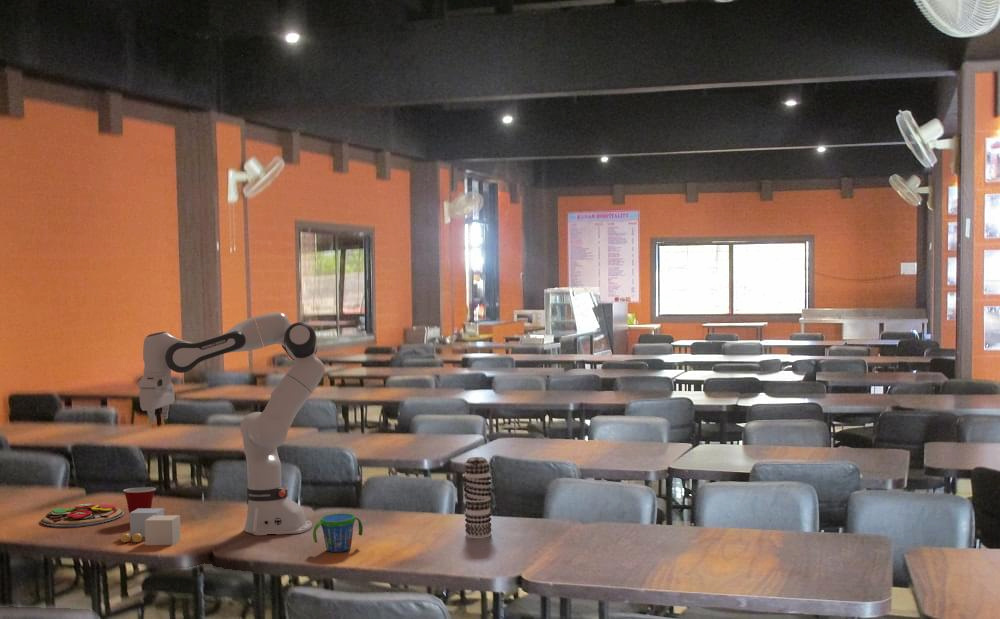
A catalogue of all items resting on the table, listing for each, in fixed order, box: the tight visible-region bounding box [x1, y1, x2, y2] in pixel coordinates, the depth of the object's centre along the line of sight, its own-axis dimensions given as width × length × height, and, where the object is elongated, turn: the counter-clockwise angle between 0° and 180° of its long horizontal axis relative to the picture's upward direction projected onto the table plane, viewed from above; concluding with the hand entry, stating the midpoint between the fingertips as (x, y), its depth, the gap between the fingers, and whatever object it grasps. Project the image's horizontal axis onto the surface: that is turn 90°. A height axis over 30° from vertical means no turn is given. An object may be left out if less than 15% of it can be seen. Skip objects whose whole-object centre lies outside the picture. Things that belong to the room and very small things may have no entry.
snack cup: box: [312, 512, 364, 553], centre depth 303 cm, size 16×10×10 cm
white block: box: [129, 507, 165, 538], centre depth 326 cm, size 9×6×8 cm
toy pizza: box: [40, 503, 125, 528], centre depth 352 cm, size 28×28×4 cm
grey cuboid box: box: [144, 514, 182, 546], centre depth 316 cm, size 9×6×8 cm
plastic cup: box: [122, 486, 157, 515], centre depth 344 cm, size 11×11×12 cm
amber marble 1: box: [120, 532, 132, 544], centre depth 317 cm, size 3×3×3 cm
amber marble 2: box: [131, 533, 143, 543], centre depth 316 cm, size 3×3×3 cm
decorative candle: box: [462, 456, 492, 539], centre depth 317 cm, size 9×9×25 cm
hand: (158, 420), depth 332 cm, fingers open, 8 cm apart
